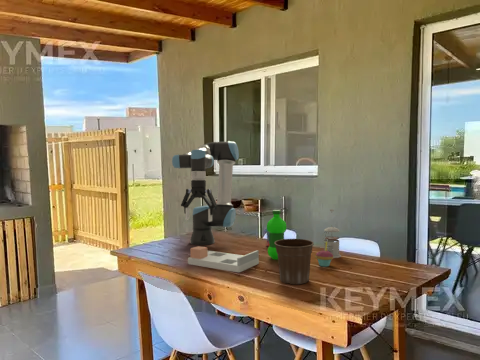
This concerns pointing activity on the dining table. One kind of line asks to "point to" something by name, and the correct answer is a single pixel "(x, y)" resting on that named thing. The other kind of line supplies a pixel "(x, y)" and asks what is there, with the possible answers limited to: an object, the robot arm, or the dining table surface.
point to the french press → (332, 241)
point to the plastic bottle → (275, 232)
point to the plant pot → (294, 260)
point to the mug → (267, 237)
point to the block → (199, 252)
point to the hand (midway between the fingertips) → (198, 220)
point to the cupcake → (324, 257)
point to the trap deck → (227, 261)
